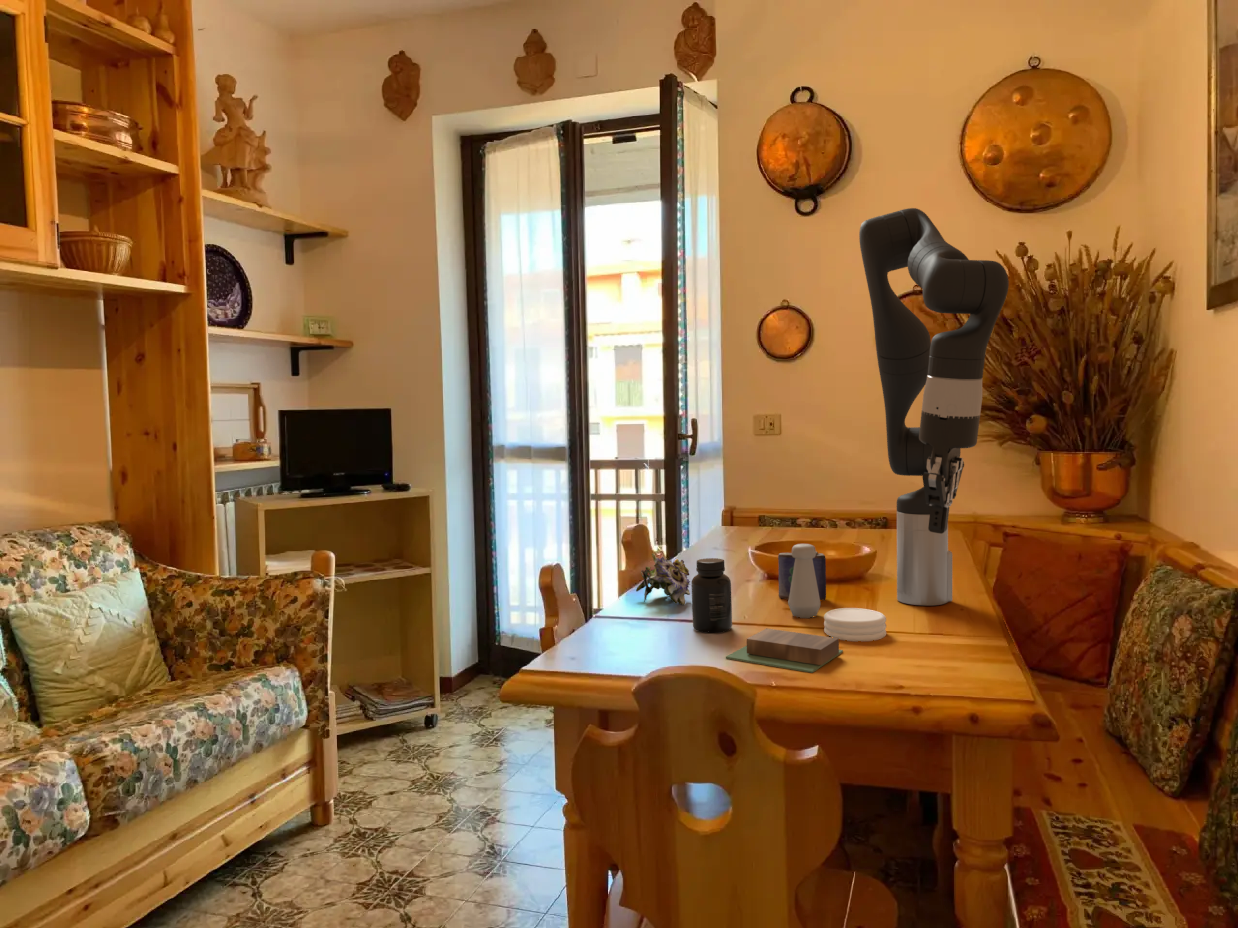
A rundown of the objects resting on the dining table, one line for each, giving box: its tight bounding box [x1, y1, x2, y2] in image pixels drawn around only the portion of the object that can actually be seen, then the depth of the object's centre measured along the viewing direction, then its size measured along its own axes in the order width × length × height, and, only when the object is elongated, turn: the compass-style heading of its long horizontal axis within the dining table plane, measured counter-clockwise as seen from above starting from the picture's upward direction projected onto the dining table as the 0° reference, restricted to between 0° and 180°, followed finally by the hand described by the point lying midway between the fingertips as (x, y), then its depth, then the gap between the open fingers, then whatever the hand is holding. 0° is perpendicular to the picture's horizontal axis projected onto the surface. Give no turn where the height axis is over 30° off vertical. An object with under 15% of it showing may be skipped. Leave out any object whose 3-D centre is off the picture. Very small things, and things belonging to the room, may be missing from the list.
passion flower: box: [635, 552, 691, 606], centre depth 171 cm, size 11×11×12 cm
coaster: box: [823, 607, 887, 642], centre depth 145 cm, size 10×10×4 cm
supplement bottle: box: [690, 557, 733, 634], centre depth 150 cm, size 7×7×12 cm
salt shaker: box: [787, 543, 821, 619], centre depth 157 cm, size 6×6×13 cm
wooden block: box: [746, 628, 840, 665], centre depth 133 cm, size 2×7×12 cm
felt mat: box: [725, 645, 844, 674], centre depth 133 cm, size 14×12×1 cm
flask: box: [777, 551, 827, 601], centre depth 171 cm, size 9×3×11 cm, turn 71°
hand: (937, 531), depth 122 cm, fingers closed
